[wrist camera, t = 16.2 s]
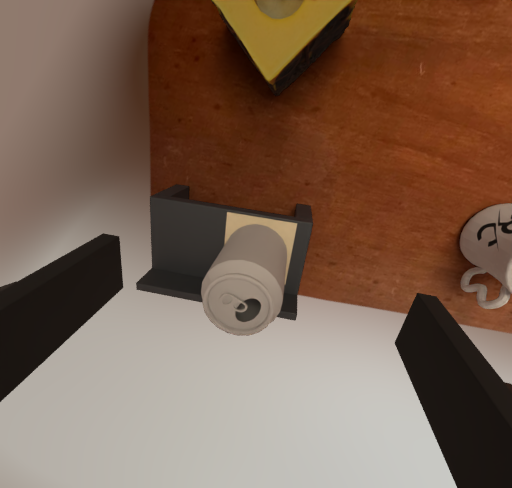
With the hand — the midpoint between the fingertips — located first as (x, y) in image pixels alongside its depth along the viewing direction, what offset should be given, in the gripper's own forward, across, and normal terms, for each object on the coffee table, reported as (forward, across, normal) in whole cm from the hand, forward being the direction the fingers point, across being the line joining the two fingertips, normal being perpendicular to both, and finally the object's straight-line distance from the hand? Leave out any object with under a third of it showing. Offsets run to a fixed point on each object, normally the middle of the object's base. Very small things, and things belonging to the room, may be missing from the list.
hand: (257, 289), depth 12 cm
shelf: (+29, -6, -9) cm, 31 cm away
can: (+21, -2, -8) cm, 22 cm away
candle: (+29, -3, +16) cm, 34 cm away
